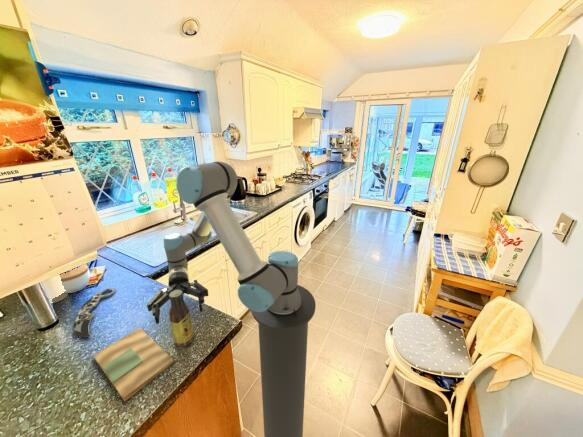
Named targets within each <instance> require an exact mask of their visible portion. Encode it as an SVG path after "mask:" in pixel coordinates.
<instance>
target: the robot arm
mask: <svg viewBox="0 0 583 437" xmlns="http://www.w3.org/2000/svg"><path fill="white" fill-rule="evenodd" d="M175 183H176V191H177V194H178V196H179V197H180V199H181V201H183V202H184V203H186V204H190V205H193V207H194V208H195V210H197V211H200V212H199V214H198V216H197V219H196V221H195V223H194V225H193V228H192V230H191V231H189V232H186V233H185V234H182V233H179V232H178V233H177V232H174V233H170V234H167V235H166V236H164V238H163V248H164V251H165V255H166V260H167V266H168V284H167V287H166V288H163V287H159V288H158V291H157V292H156V294H154V296H152V298H151V299H150V301H149V302H148V303H147V304H146V307H147V311H148V312H151V314H152V316H153V317H154V321H155V324H156V325H159V324H160V314H161V309H160V308H162V307H163V306H164V305H165V304H166V303H167V302H168V301H169V300H170V298H169V294H170V293H171V292H172V291H174V290H181V291H182V292H183V295H184V294H185V295H188V296H189V295H191V296H193V297H195V298H197V300H198V306H199V313H200V312H203V305H202V304H205V297H209V290H208V289H207V288H206V287H205V286H203V285H202V284H201V283H200V282H198V280H197V279H193V281H192V282H190V279H189V277H190V276H189V270H188V269H189V268H188V266H189V264H188V259H187V254H186V253H187V252H190V251H191V250H192V249H195V248H197V247H199V246H201V245H202V244H205V243H208V242H209V241H210V240H211V239H212V237H213V236H212V234H213V233H212V229H213V231H214V233H215V235H216V236H217V238H218V240H219V242H220V244H221V246H222V247H223V248H224V250H225V252H226V254H227V255H228V257H229V259H230V260H231V263H232V264H233V266H234V267H235V269H236V271H237V273H238V276H237V279H236V280H237V282H238V284H239V285H240V286H238V289H237V296H238V300H239V301H240V303H241V304H242V305H243V306H244V307H246V308H247V309H248V310H250V311H251V310H253V311H255V312H263V311H266V310H268V311H269V312H270V313H272V314H274V315H278V316H288V315H292V314H294V313H295V315H297V313H296V312H297V311H298V310H299V309H300V307H301V296H300V294H299V291H298V288H297V285H299V280H298V279H299V258H298V256H297V255H296V254H294V253H293V252H291V251H288V250H287V251H286V250H276V251H273V252H270V253H269V254H268V257H267V261H266V260H262V259H261V258H260V256H259V254H258V253H257V251H256V250H255V247H254V246H253V244H252V242H251V241H250V239H249V237H248V235H247V234H246V231H245V230H244V228H243V227H242V225H241V223H240V221H239V220H238V218H237V216H236V214H235V212H234V210H233V209H232V208H231V206H230V204H229V202H228V200H229V199H231V198H232V197H233V195H234V193H235V192H236V189H237V186H238V175H237V172H236V171H235V168H233V166H231V165H230V164H229V163H227V162H224V161H213V162H207V163H200V164H191V165H188V166H184V167H182V168H181V169H180V170H179V171H178V173H177V176H176V182H175Z"/></svg>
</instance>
